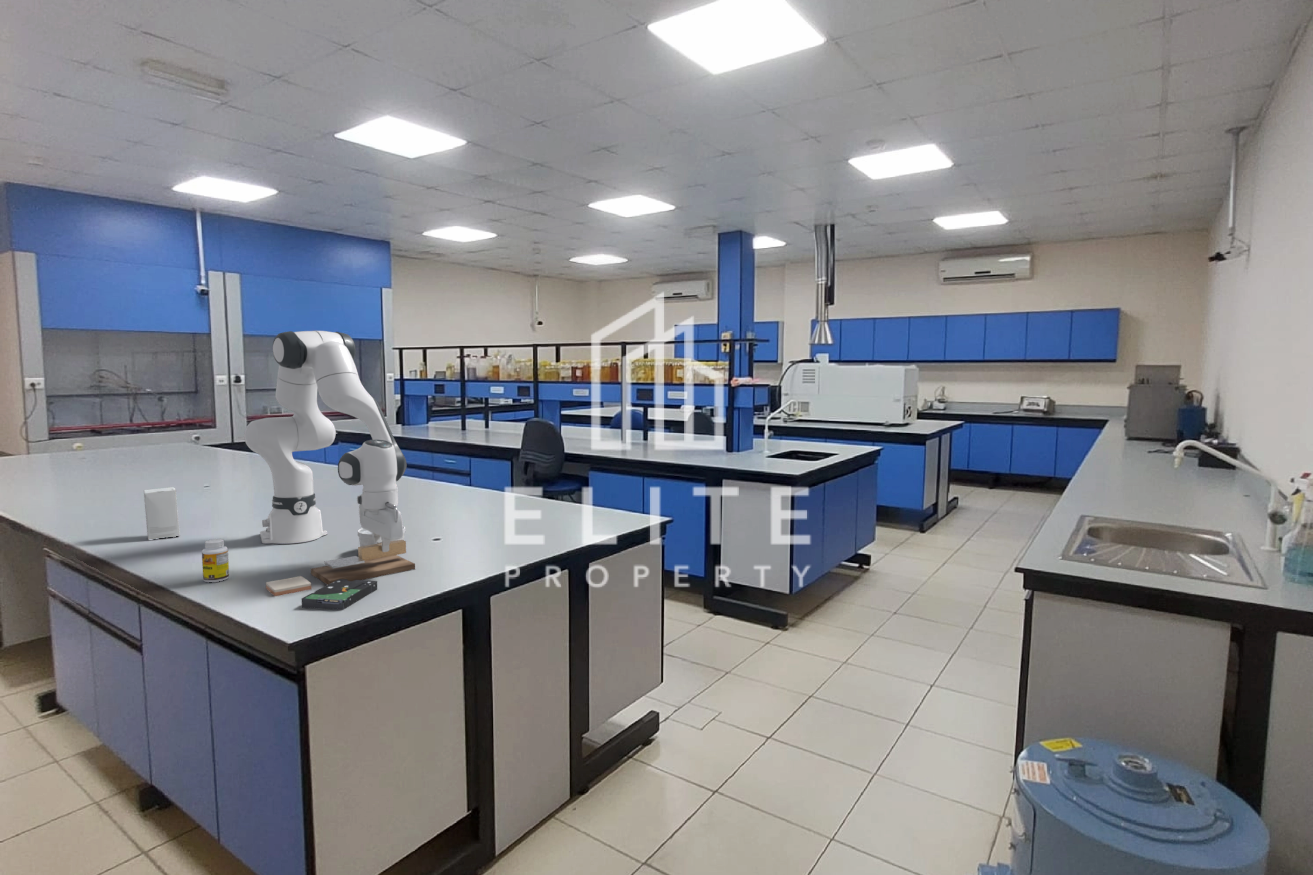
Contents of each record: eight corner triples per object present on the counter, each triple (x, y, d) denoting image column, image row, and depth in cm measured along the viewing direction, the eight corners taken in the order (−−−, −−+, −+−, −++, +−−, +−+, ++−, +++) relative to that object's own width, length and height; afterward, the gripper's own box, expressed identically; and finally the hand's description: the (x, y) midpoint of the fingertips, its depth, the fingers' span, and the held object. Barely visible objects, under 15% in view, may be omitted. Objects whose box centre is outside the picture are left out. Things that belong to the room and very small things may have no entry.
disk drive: (338, 589, 164) (300, 609, 150) (338, 578, 164) (300, 597, 150) (378, 591, 163) (344, 611, 149) (378, 580, 163) (343, 599, 149)
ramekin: (348, 555, 194) (347, 531, 193) (379, 544, 206) (378, 522, 205) (385, 559, 190) (385, 535, 189) (415, 548, 202) (414, 525, 202)
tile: (265, 582, 163) (274, 590, 157) (301, 575, 168) (311, 583, 163) (266, 590, 163) (275, 598, 157) (301, 583, 168) (311, 591, 163)
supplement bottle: (198, 581, 168) (196, 541, 167) (221, 575, 173) (219, 536, 172) (210, 584, 165) (208, 544, 164) (233, 578, 170) (232, 539, 169)
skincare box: (178, 533, 216) (175, 486, 215) (180, 537, 211) (177, 489, 210) (146, 537, 211) (143, 489, 210) (147, 541, 206) (144, 492, 205)
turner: (399, 550, 187) (399, 538, 187) (408, 554, 183) (408, 542, 182) (324, 563, 173) (323, 550, 173) (332, 568, 169) (332, 555, 168)
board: (310, 574, 175) (310, 568, 174) (393, 558, 190) (393, 553, 190) (329, 586, 165) (329, 580, 165) (415, 569, 180) (415, 563, 180)
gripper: (408, 504, 174) (410, 555, 175) (377, 493, 188) (378, 541, 190) (384, 507, 170) (386, 559, 171) (354, 496, 184) (355, 545, 185)
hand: (381, 550), depth 180 cm, fingers closed on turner, 2 cm apart
